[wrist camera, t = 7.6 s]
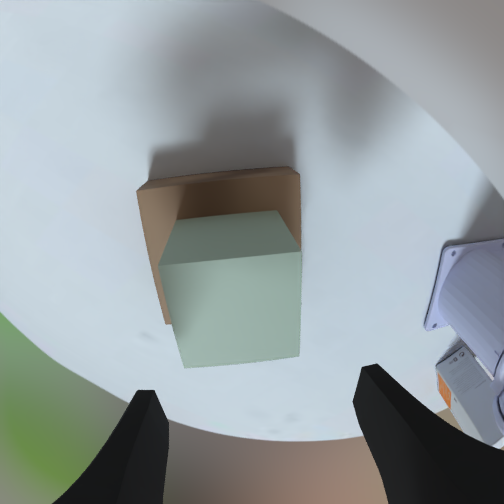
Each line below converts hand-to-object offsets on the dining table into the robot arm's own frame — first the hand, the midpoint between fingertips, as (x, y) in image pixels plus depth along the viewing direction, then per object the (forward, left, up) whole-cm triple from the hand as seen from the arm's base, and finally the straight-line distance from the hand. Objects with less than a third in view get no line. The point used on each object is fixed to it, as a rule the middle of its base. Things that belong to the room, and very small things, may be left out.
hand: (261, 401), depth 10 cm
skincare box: (-22, +16, -11) cm, 30 cm away
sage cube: (+1, -2, -8) cm, 8 cm away
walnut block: (+1, -2, -11) cm, 11 cm away
